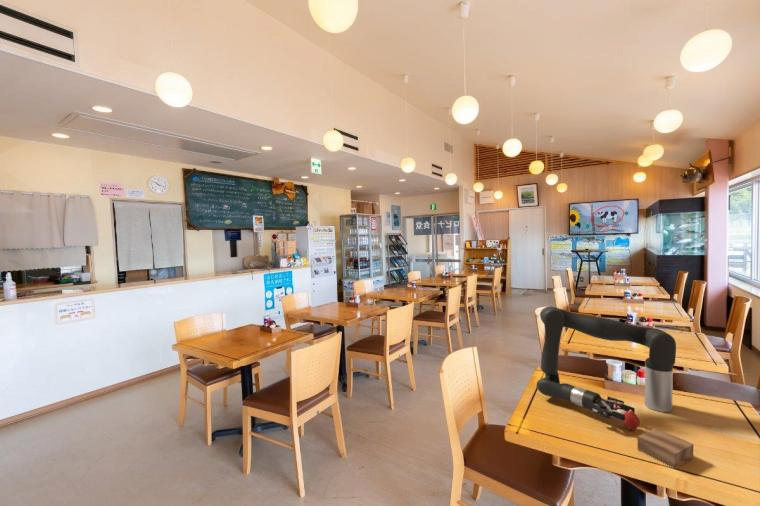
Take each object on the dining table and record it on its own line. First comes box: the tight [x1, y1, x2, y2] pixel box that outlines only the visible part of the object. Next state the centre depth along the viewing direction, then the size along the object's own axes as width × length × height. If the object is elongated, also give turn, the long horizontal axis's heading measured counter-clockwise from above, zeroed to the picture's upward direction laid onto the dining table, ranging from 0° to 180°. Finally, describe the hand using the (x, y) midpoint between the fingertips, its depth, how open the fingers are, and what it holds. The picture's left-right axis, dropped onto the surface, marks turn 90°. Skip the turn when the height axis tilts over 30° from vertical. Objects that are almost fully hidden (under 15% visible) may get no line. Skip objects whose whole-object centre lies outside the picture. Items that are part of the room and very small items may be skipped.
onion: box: [620, 410, 641, 431], centre depth 134 cm, size 6×6×8 cm
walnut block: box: [637, 427, 695, 469], centre depth 120 cm, size 11×11×5 cm
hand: (629, 414), depth 134 cm, fingers open, 8 cm apart
